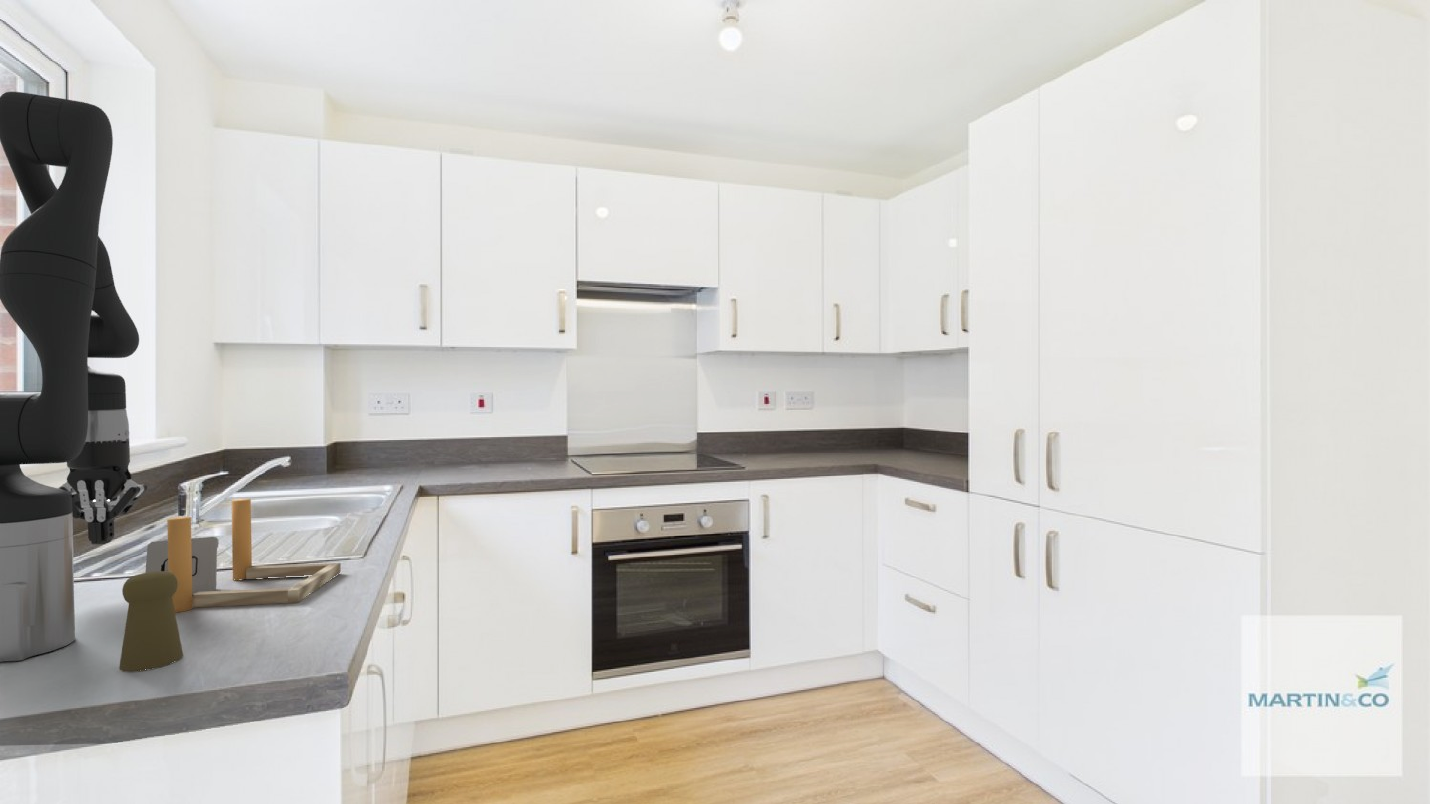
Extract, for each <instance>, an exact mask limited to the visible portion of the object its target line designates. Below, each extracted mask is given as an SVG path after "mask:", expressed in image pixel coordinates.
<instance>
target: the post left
mask: <svg viewBox="0 0 1430 804" xmlns="http://www.w3.org/2000/svg"><path fill="white" fill-rule="evenodd" d="M166 521H167V526H166V527H167V540H168V572H171V573H173V574H174V575H175V577H176V578H177V581H178V586H177V590H176V592H175V593H174V595H173V596H172V599H173V605H174V610H175V614H176V613H183V612H186V611H190V610H192V609H193V608H194V607H193V596H192V549H191V538H192V517H191V516H178V517H172V518H168V519H166Z"/></svg>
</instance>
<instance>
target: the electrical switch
mask: <svg viewBox="0 0 1430 804" xmlns="http://www.w3.org/2000/svg"><path fill="white" fill-rule="evenodd" d="M218 548H219V539H218V537H217V536H207V537H206V536H203V537H191V549H192V595H193V594H195V593H197V592H204V591H217V572H218V571H217V567H218V566H217V565H218V560H217V559H218ZM154 571H167V572H168V539H167V540H154V541H151V542H150V543H149V544H147V547H146V559H145V572H144V573H147V572H154Z"/></svg>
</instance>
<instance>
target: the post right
mask: <svg viewBox="0 0 1430 804" xmlns="http://www.w3.org/2000/svg"><path fill="white" fill-rule="evenodd" d="M251 505H252V501H251V498H240V499H232V500H231V546H232V547H231V549H232V550H231V551H232V552H231V554H232V558H231V559H232V580H233V579H235V580H238V581H240V580H239V579H246V569H247V568H249V567H251V566H253V562H252V561H253V560H252V559H253V557H252V555H253V554H252V550H253V548H252V506H251ZM235 580H234V581H235Z"/></svg>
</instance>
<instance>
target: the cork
mask: <svg viewBox="0 0 1430 804" xmlns="http://www.w3.org/2000/svg"><path fill="white" fill-rule="evenodd" d="M177 586H178V581H177V578H176V577H175V575H174V574H173V573H171V572H167V571H154V572H147V573H145V572H143V573H139V574H135V575H133V576H131V577H129V578H127V579H126V580H125V582H124V583H123V586H122V589H121V591H122V596H123V599H124V601H125V602H126V603H127V604H128V607H127V613H126V619H125V621H126V622H125V626H124V627H125V628H124V633H123V641H122V648H121V654H120V660H119V661H120V662H119V666H118V667H119V670H120V671H121V670H122V671H121V672H124V671H131V672H130V673H133V672H132V671H138V672H143V671H142V670H145V669H146V670H145V671H148V670H147V669H151V670H153V669H152V668H155V669H158V668H157V667H160V668H162V667H161V666H163V667H165V666H164V665H166V666H168V665H167V664H169V665H171V664H170V663H172V662H174V661H176V662H178V661H179V660H181V659H182V658H183V657H184V653H183V646H182V643H181V642H182V641H181V637H180V632H179V631H180V630H179V627H178V621H177V617H176V616H177V615H176V613H175V610H174V605H173V599H172V596H173V595H174V593H175V592H176V590H177ZM182 656H183V657H182ZM181 657H182V658H181ZM180 658H181V659H180ZM177 660H178V661H177ZM174 663H175V662H174ZM172 664H173V663H172ZM140 670H141V671H140Z"/></svg>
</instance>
